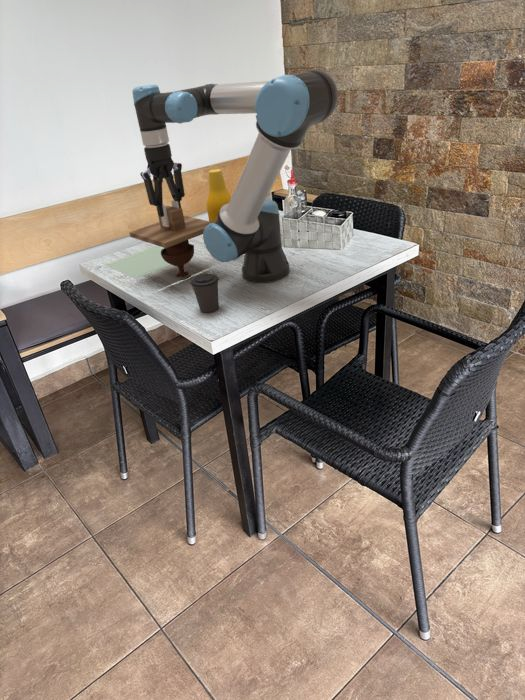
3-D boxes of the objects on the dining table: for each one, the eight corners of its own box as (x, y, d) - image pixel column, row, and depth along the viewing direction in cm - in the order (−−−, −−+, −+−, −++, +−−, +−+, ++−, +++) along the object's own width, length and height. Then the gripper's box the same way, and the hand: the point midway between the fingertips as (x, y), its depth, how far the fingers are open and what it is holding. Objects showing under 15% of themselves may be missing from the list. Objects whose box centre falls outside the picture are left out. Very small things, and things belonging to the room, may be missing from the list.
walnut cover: (218, 228, 165) (214, 204, 161) (165, 248, 154) (160, 223, 150) (181, 219, 178) (177, 196, 174) (130, 236, 167) (124, 213, 163)
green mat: (189, 259, 187) (189, 257, 186) (136, 280, 175) (136, 278, 174) (155, 248, 202) (155, 246, 201) (104, 267, 189) (104, 265, 189)
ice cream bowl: (194, 283, 168) (185, 237, 160) (161, 283, 170) (151, 239, 163) (203, 269, 177) (195, 226, 169) (172, 270, 179) (163, 227, 172)
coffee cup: (204, 318, 145) (198, 285, 140) (190, 309, 151) (183, 277, 146) (229, 308, 149) (224, 276, 144) (214, 300, 155) (208, 268, 150)
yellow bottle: (228, 248, 192) (216, 166, 177) (246, 253, 186) (234, 168, 171) (209, 257, 187) (195, 173, 172) (226, 261, 181) (213, 175, 166)
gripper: (173, 138, 160) (187, 214, 172) (124, 150, 150) (142, 230, 162) (187, 139, 155) (201, 218, 167) (138, 152, 145) (156, 234, 157)
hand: (172, 223), depth 164 cm, fingers closed on walnut cover, 4 cm apart
